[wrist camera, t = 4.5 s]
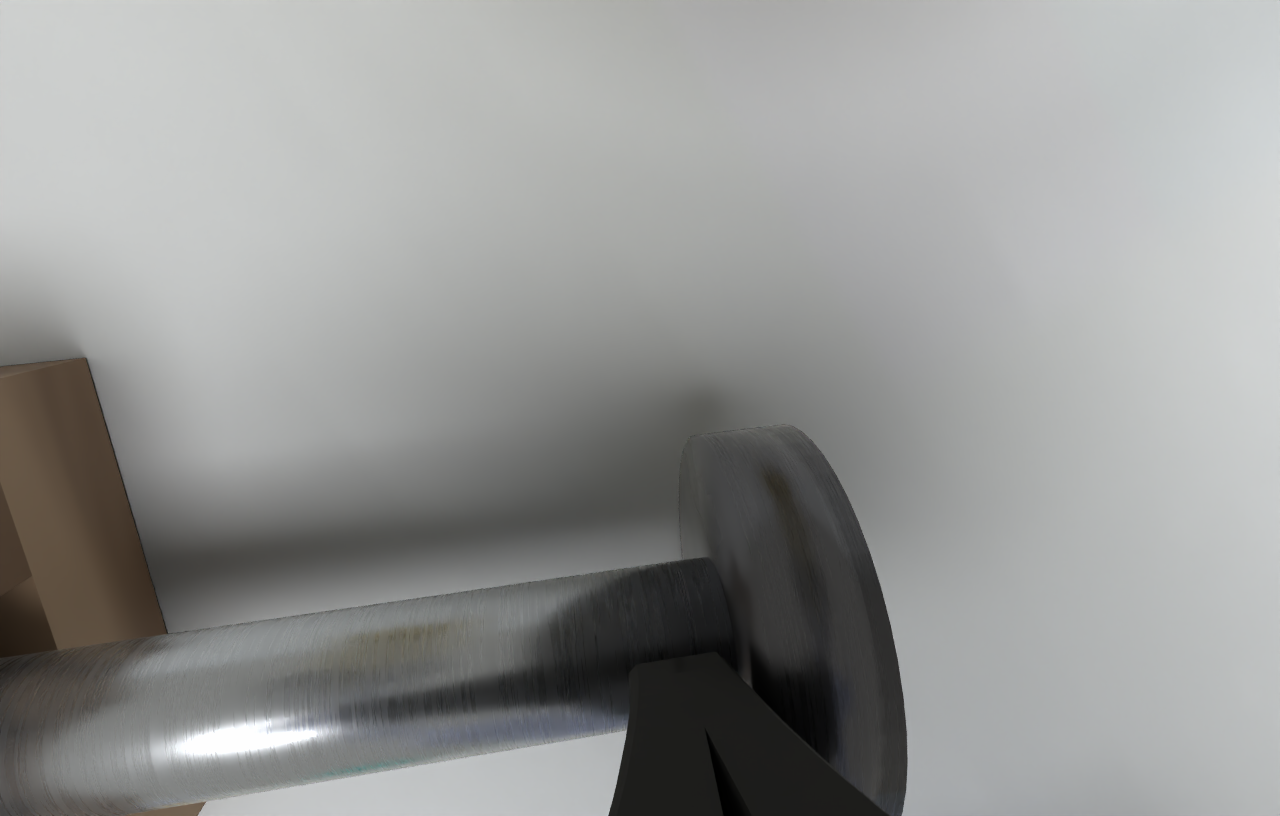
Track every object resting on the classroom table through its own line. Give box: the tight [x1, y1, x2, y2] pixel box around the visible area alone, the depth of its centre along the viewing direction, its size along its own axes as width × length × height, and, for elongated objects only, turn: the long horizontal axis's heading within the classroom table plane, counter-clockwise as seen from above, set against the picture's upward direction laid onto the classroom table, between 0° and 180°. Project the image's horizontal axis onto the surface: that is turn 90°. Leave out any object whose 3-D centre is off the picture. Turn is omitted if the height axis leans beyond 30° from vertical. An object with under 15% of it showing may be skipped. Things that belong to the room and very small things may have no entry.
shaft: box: [0, 424, 907, 816], centre depth 10 cm, size 18×6×6 cm, turn 95°
